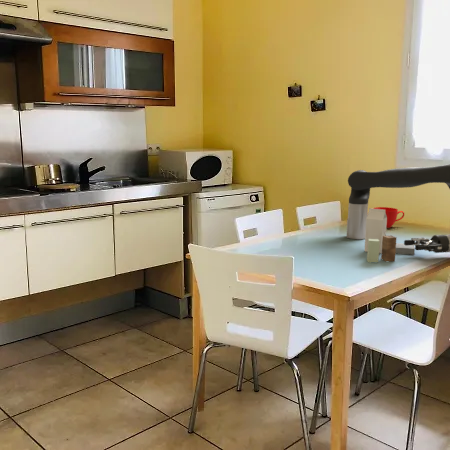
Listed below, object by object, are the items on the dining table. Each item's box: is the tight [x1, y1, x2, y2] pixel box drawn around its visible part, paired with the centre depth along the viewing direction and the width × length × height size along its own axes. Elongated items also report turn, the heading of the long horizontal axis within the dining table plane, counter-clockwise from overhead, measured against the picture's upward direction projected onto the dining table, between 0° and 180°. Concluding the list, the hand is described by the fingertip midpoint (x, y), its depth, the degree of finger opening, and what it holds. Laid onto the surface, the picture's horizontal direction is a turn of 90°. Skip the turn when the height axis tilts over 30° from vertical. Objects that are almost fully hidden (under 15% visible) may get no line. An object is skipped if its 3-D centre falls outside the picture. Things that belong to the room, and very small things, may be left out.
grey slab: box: [395, 242, 416, 256], centre depth 231 cm, size 9×9×3 cm
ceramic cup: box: [372, 206, 405, 229], centre depth 284 cm, size 13×17×10 cm
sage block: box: [366, 239, 380, 263], centre depth 214 cm, size 4×4×9 cm
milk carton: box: [364, 207, 387, 254], centre depth 229 cm, size 7×7×19 cm
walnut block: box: [380, 234, 397, 262], centre depth 215 cm, size 4×4×10 cm
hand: (410, 245), depth 217 cm, fingers open, 8 cm apart
